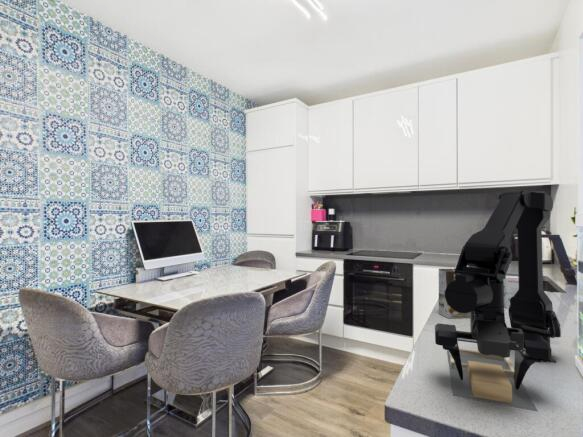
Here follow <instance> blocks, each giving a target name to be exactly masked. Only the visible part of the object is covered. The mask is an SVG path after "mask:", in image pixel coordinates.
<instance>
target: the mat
mask: <svg viewBox="0 0 583 437" xmlns="http://www.w3.org/2000/svg"><path fill="white" fill-rule="evenodd" d="M446 355H447V360H448V362H447V363H448V369H449V376H450V382H451V389H452V390H451V391H452V395H453V396H454V397H457V398H458V397H459V398H462V399H463V398H465V399H469V400H475V401H480V402H485V403H492V404H496V405H500V406H506V407H510V408H511V407H513V408H518V409H522V410H527V411H528V410H529V411H533V412H539V410H538V409H537V407H536V405H535V403H534V401H533V399H532V398H531V396H530V394H529V392H528V390H527V389H526V388H525V386H524V383H523V382H522V383H521V385H520V387H519V389H516V388H515V384H514V378H511V377H507V378H508V380H509V382H510V384H511V386H512V404H511V403H506V402H501V401H495V400H490V399H484V398H479V397H474V395H473V391H472V388H471V384H470V380H469V376H468V371H466V370H463V380H461V379H460V376H459V373H458V370H457V369H453V368H451V363H450V357H449V351H448V350H446ZM460 358H461V363H466V364H468V361H475V362H482V363H488V364H495V365H501V366H502V368H503V369H506V370H508V368H507V366H506V364H505V362H504V361H500V360H492V359H485V358H478V357H471V356H464V355H460Z"/></svg>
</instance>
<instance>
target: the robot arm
mask: <svg viewBox="0 0 583 437" xmlns="http://www.w3.org/2000/svg"><path fill="white" fill-rule="evenodd" d="M498 196H499V197H498V201H497V204H496V206H495V208H494V209H493V211H492V213H491V215H490V216H489V218H488V220H487V221H486V224H485V226H483V228H482V229H481V230H479V231H477V232H475V233H473V234H472V235H471V236H470V237H469V238H468V239H467V241H466V242H465V244H464V245H463V246H462V249H461V252H460V253H459V254H460V255H459V256H458V260H457V263H456V267H455V268H454V269H455V274H456V275H455V281H453V282H451V283H450V284H448V286H447V287H446V290H445V299H446V301H447V303H448V305H449V306H450V307H451V308H452V309H453V310H455V311H457V312H459V313H469V312H470V318H469V319H470V320H469V322H470V324H469V325H470V331H463V330H457V327H456V325H455V324H448V323H447V324H446V323H439V322H438V323H436V324H435V325H434V340H435V343H434V344H435V345H437V346H442V347H441V348H442V350H445V351H449V352H450V354H451V355H452V357H453V359H454V362H455V364H456V367H457V370H458V373H459V376H460V379H461V380H463V370H462V364H461V358H460V351H459V349H460V348H459V347H460V346H459V342H465V343H472V344H473V343H474V344H476V345H477V351H479V352H480V353H481V354H483V355H496V356H501V357H504V358H507V357H508V358H510V357H511V351H514V364H513V366H514V384H515V388H516V389H519V387H520V385H521V383H522V384H523V380H524V379H525V376H526V374H527V372H528V370H529V369H530V367H531V366H532V365H533V364H536V363H538V364H539V363H542V362H548V363H554V364H555V363H557V361H556V359H555V358H554V357H553V356H552V347H551V338H552V339H555V338H561V337H562V336H561V335H562V331H561V330H562V329H561V324H560V320H559V318H558V317H557V314H556V312H555V311H554V308H553V301H552V300H551V299H550V298H549V296H548V295H547V294H546V292H545V290H544V277H543V276H544V274H543V273H544V271H543V270H544V269H543V233H542V232H543V231H542V230H543V228H544V227H545V225H546V224H547V223H548V222H549V220H550V218H551V212H552V211H553V208H554V200H553V198H552V196H551V195H549V194H548V193H546V192H545V191H529V190H525V189H515V190H513V189H512V190H504V191H501V192H500V194H498ZM515 229H516V230H517V232H516V233H517V267H518V272H517V273H518V278H519V290H518V291H517V292H516V294H515V295H514V296H513V297H511V299H510V306H509V309H508V318H509V323H510V327H509V326H507V323H506V317H505V306H504V280H503V279H505V278H506V276H507V272H508V270H509V268H510V265H511V263H512V260H513V253H512V249H511V248H510V247H511V246H510V245H509V242H510V239H511V237H512V235H513V233H514V231H515Z"/></svg>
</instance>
